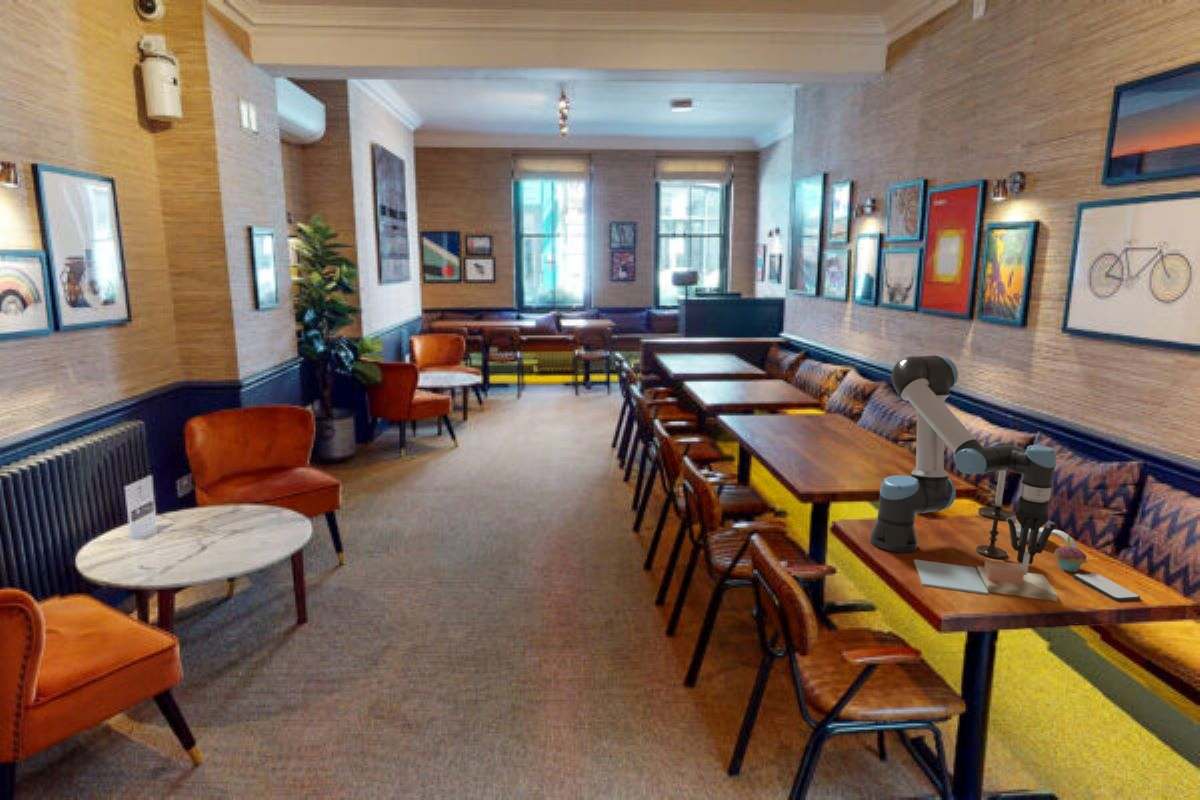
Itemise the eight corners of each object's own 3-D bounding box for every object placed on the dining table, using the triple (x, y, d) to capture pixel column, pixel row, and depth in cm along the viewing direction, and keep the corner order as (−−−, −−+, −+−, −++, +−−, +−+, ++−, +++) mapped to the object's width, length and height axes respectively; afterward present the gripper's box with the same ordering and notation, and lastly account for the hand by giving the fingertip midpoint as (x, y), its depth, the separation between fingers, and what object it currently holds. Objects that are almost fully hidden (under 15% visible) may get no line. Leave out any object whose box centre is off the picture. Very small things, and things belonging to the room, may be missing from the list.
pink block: (988, 580, 206) (990, 567, 205) (983, 571, 211) (985, 559, 210) (1022, 584, 203) (1024, 572, 202) (1016, 576, 209) (1018, 563, 208)
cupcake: (1069, 575, 214) (1075, 539, 212) (1045, 564, 222) (1051, 529, 220) (1090, 572, 217) (1097, 537, 214) (1066, 561, 225) (1072, 527, 222)
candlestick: (1000, 547, 235) (1014, 449, 228) (1016, 560, 224) (1031, 458, 218) (967, 545, 236) (980, 447, 229) (981, 558, 225) (995, 456, 219)
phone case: (1142, 602, 200) (1095, 576, 215) (1143, 597, 199) (1096, 572, 215) (1115, 603, 198) (1070, 578, 214) (1116, 598, 198) (1071, 573, 213)
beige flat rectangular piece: (987, 591, 203) (988, 585, 202) (976, 571, 216) (977, 565, 215) (1056, 601, 197) (1057, 594, 197) (1041, 580, 211) (1042, 574, 210)
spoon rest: (1000, 534, 248) (1003, 515, 246) (1024, 531, 251) (1027, 512, 250) (1061, 561, 226) (1065, 541, 224) (1087, 557, 229) (1091, 537, 228)
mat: (922, 585, 206) (922, 583, 206) (913, 561, 223) (914, 559, 223) (988, 594, 201) (988, 592, 201) (974, 569, 218) (974, 567, 217)
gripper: (1013, 499, 199) (1001, 575, 204) (1064, 505, 195) (1051, 581, 200) (1006, 491, 206) (995, 564, 211) (1055, 496, 202) (1043, 570, 207)
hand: (1022, 572), depth 205 cm, fingers closed
